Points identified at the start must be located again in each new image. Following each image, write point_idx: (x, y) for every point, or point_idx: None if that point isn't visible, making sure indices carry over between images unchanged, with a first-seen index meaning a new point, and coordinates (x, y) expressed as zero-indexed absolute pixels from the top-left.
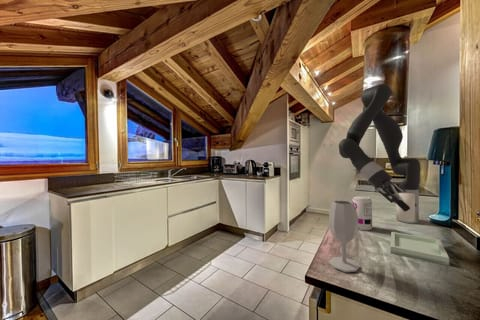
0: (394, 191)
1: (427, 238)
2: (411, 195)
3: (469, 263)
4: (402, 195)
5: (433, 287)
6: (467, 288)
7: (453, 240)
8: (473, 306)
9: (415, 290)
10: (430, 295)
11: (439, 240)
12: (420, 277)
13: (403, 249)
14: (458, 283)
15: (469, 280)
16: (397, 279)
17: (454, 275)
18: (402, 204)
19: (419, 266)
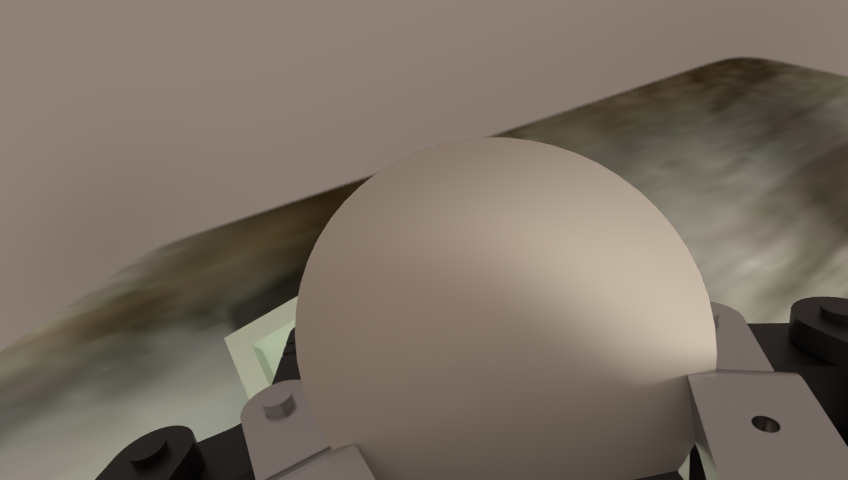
0: (834, 434)
1: (265, 384)
2: (539, 158)
3: None
4: (676, 264)
5: (728, 152)
6: (607, 114)
7: (65, 361)
8: (700, 69)
9: (822, 163)
10: (789, 132)
11: (241, 332)
12: (712, 204)
13: None
14: (602, 136)
15: (537, 133)
16: (837, 229)
17: None
18: None
19: None
